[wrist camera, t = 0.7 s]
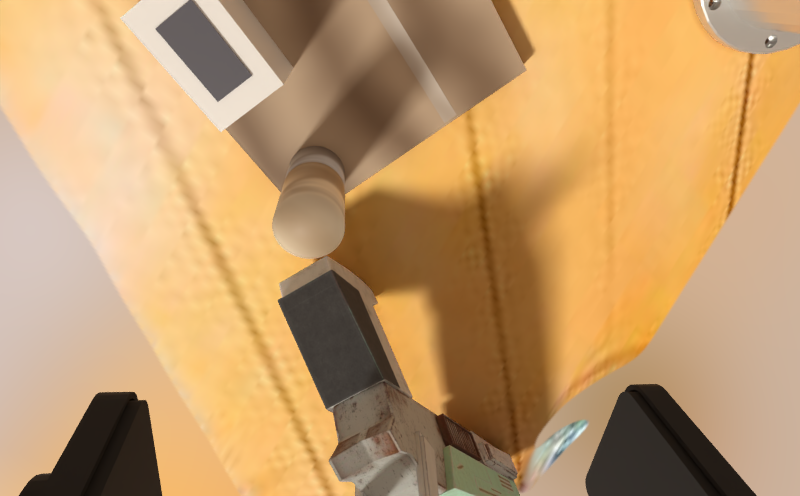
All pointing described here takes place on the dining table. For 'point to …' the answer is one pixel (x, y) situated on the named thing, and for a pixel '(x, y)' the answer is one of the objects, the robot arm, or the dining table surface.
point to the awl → (311, 204)
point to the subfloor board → (372, 78)
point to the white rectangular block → (212, 53)
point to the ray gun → (380, 398)
